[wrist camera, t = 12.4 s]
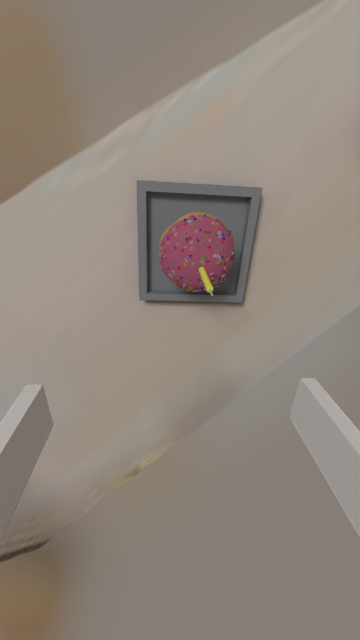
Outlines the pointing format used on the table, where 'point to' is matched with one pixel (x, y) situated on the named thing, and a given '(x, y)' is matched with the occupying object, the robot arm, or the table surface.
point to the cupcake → (197, 252)
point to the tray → (176, 201)
